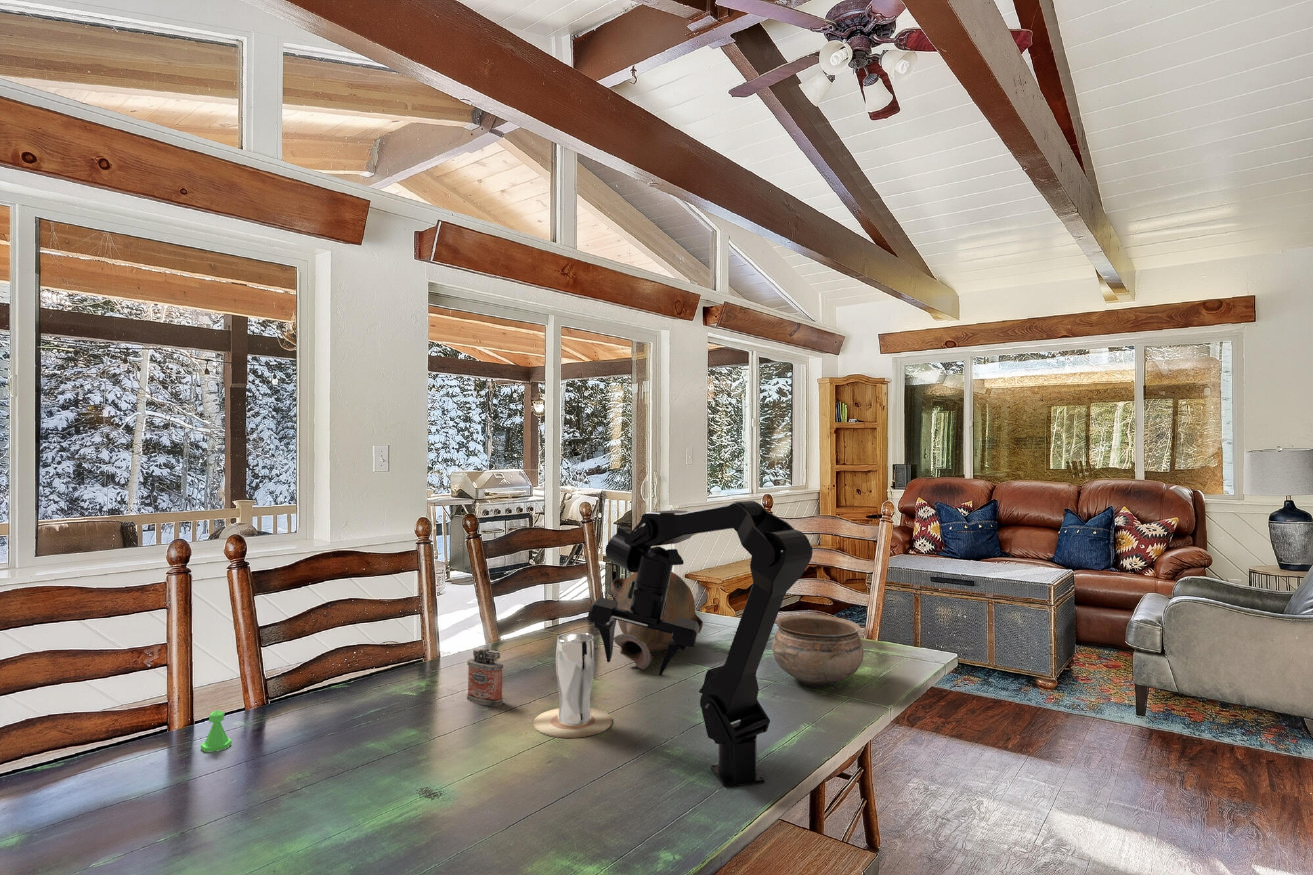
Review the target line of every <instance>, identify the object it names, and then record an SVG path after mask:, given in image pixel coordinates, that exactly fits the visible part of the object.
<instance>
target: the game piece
mask: <svg viewBox="0 0 1313 875" xmlns="http://www.w3.org/2000/svg"><path fill="white" fill-rule="evenodd" d="M224 719H225V712H224V711H221V710H218V709H217V710H215V711H213V712H211V713H209V719H208V722H209V723H212V724H211V725H212V726H211V728H210V730H209V732H208V734H207V737H206V739H205V741H204V742H203V743H201V744H200V750H201V751H202V750H203V751H204V752H203V751H202V752H203V753H208V752H207V751H210V752H209V753H212V752H211V751H217V750H221V751H223V750H222V749H225V748H227V749H228V748H229V747H228V746H230V745H231V744H232V741H233V740H232V739H231V738H230V737H228V735H227V733H226V731H225V728H224V727H223V724H222V723H221V722H222V721H224ZM232 745H233V744H232ZM232 745H231V746H232ZM231 746H230V747H231ZM225 750H226V749H225ZM205 751H206V752H205ZM217 752H218V751H217Z"/></svg>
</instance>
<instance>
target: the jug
mask: <svg viewBox="0 0 1313 875" xmlns="http://www.w3.org/2000/svg"><path fill="white" fill-rule="evenodd" d="M636 576H637V572H636V573H632V574H631V575H629V576H628V577H626V578H625V577H624V578H623V577H617V578H614V579H613V580H612V582H611V584H610V586H609V587H610V593H611V594H612V596H613V598H614V599H615V601H618V608H619V609H623V610H627V611H629V610H630V605H631V600H632V599H629V598H628V593H629V589H630V586H631V583H632V581H634V582H635V580H636ZM617 586H618V587H619V589H618V588H617ZM666 600H667V604H666V608H665V613H664V616H662V620H666V621H670V622H674V623H676V621H677V619H678V617H681V618H685V619H689V620H693V621H697V623H698V624H699V630H698V634H700V632H701V631H702V629H703V625H704V623H703V622H704V621H703V620H702V619H701V618H700V617H699V616H698V615H697V614H696V613H697V612H696V602H695V598H694V595H693V592H692V590H691V588H690V587H689V585H688V584H687V583H686V582H685V580H684V579H683V578H681V576H679V575H678V574H676V573H674V572H673V571H671V576H670V581H669V585H668V591H667V599H666ZM617 622H618V626H619V628H620V632H622V633H620V634H619V635H616V636H614V642H615V644H616V645H617V646H619V647H620V649H619V653H620V655H622V656H624V657H625V658H626V659H628V660H630V661H633V662H634V663H635V665H636V667H637V668H638V669H641V670H646V669H647V668H648V666H649V665H650V663H651V662H652V661H653V655H652V654H651V653H652V652H655V653H656V652H660V651H666V650H667V647H668V645H669V642H670V640H671V637H672V634H670V633H666V632H662V631H658V630H654V629H651V628H647V627H643V626H639V625H635V624H631V623H627V622H623V621H620V620H617Z"/></svg>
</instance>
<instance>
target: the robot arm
mask: <svg viewBox="0 0 1313 875" xmlns="http://www.w3.org/2000/svg"><path fill="white" fill-rule="evenodd" d="M640 517H641V518H640V520H639V523H637V525H635V527H634V528H633V529H632V528H630V527H628V526H621V527H620V526H619V527H617V532H616V533H615V534H614V535H613V536H612V537H611V538H610V539H609V541H608V543H607V544H606V546H605V556H606V559H607V560H608V561H610V562H612V563H613V564H615V565H617V566H618V567H620V568H622V569H625V570H627V571H628V572H630V573H632V574H634V573H636V572H637V576H636V580H635V582H634V581H632V583H631V586H630V589H629V593H628V598H629V599H632V600H631V605H630V610H629V611H627V610H623V609H619V608H618V601H616V600H614V599H609V598H605V597H601V596H599V597H597V598H596V599H595V600H594V601H593V603H592V604H591V605H590V606H589V609H588V614H587V621H589V622H591V623H593V627H594V628H597V629H598V631H599V634H600V637H601V639H602V640H601V641H602V642H603V648H604V653H605V657H606V661H607V663H611V660H612V656H613V651H614V642H615V641H614V638H615V632H616V631H615V630H616V625H617V622H618V620H620V621H623V622H627V623H631V624H635V625H639V626H643V627H647V628H651V629H654V630H658V631H662V632H666V633H670V634H672V637H671V640H670V642H669V645H668V647H667V649H665V653H664V656H663V659H662V662H661V664H660V667H659V671H658V676H659V677H661V676H662V675H663V673H664V671H665V670H666V669H667V667H668V665H669V663H670V662H671V660H672V659H673V658H674V657H675V655H676V654H677V653H678V652H679V651H685V650H687V647H688V648H695V645H696V641H697V638H698V634H699V633H698V630H699V624H698V623H697V621H693V620H689V619H685V618H681V617H678V619H677V621H676V623H674V622H670V621H666V620H662V616H664V613H665V608H666V604H667V600H666V599H667V591H668V585H669V581H670V576H671V572H673V566H682V565H683V564H684V563H685V562H684V560H683V557H682V556H681V555H680V553H679V551H678V549H677V548H670V549H669V548H668V549H665V548H664V547H661V546H666V545H673V544H675V545H676V544H678V543H681V542H684V541H686V540H689V539H691V538H692V537H693V536H695V535H698V534H703V533H711V532H719V531H724V530H732V529H734V531H735V532H736V533H737V536H738V539H739V541H740V544H741V547H742V548H744V549H745V550H746V552H747V553H748V554H750V555H751V559H750V563H749V568H750V573H751V578H752V586H751V588H750V592H749V594H748V597H747V600H746V603H745V606H744V608H743V611H742V614H741V617H740V620H739V622H738V625H737V628H736V631H735V634H734V637H733V640H732V643H731V644H730V648H729V651H728V654H727V656H726V659H725V662H724V664H723V665H720V666H716V667H713V668H710V669H708V670H707V671H706V673H705V676H704V682H703V685H702V687H701V688H700V689H699V690H698V692H699V693H700V694H701V696H700V699H699V707H700V709H701V713H702V718H703V722H704V726H705V731H706V735H707V738H708V739H710V740H713V741H714V744H717V745H718V764H717V763H716V764H711V765H710V770H711V771H712V773H713V774H714V775H715V776H716V778H717V779H718V780H719V782H720V784H722V786H723V787H726V788H727V787H736V786H747V785H753V784H760V783H765V781H766V778H765V777H764V775H762V773H761V772H760V771H759V770H758V769H757V749H758V748H757V746H758V745H757V744H758V743H757V739H758V738H757V737H758V736H759V735H760V734H762V733H766V732H767V731H768V729H769V726H770V723H771V720H770V717H769V716H768V715H767V712H766V711H765V710H764V708H763V707H762V705H761V704H760V701H759V699H758V696H759V691H760V689H759V682H758V678H757V671H758V668H759V665H760V663H761V661H762V658H763V654H764V653H765V650H766V646H767V644H768V641H769V640H770V636H771V634H772V631H773V629H774V625H775V624H776V621H777V617H778V614H779V612H780V609H781V606H782V604H783V601H784V599H785V595H786V594H787V592H788V591H789V590H790V589H791V588H792V587H793V585H795V583H797V581H799V579H800V578H801V577H802V576H803V574H804V573H805V571H806V569H807V567H808V566H809V564H810V562H811V560H812V557H813V547H812V546H811V542H810V540H809V539H808V537H807V535H806V534H805V533H803V532H802V531H800V530H799V529H795V528H794V527H793V526H792V525H791V524H790V523H789V522H787V521H786V520H783V519H782V518H780V517H779V516H777V515H775V514H774V513H771V512H770V511H768V510H767V509H766V508H765V507H763V505H762V504H760V503H759V502H757V501H755V500H742V501H734V502H732V503H730V504H724V505H720V506H714V507H709V508H703V509H698V510H691V511H688V510H675V509H671V510H658V511H647V512H644V513H643V514H642V515H641V516H640ZM739 720H740V721H739ZM757 735H758V736H757Z"/></svg>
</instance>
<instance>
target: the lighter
mask: <svg viewBox="0 0 1313 875" xmlns="http://www.w3.org/2000/svg"><path fill="white" fill-rule="evenodd" d="M472 652H473V653H472V655H473V658H469V659H467V662H466V664H467V666H468V667H467V668H468V669H467V673H468V674H467V679H468V680H467V694H466V700H467V701H469V702H473V703H476V704H478V705H484V706H493V707H495V706H496V707H497V706H500V705H502V704H504V697H503V669H504V663H503V662H500V661H496V660H499V659H500V658H501V653H500V651H496V650H492V649H491V650H490V649H489V648H488V647H484V648H482V649H481V648H474V649H473V650H472Z"/></svg>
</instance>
